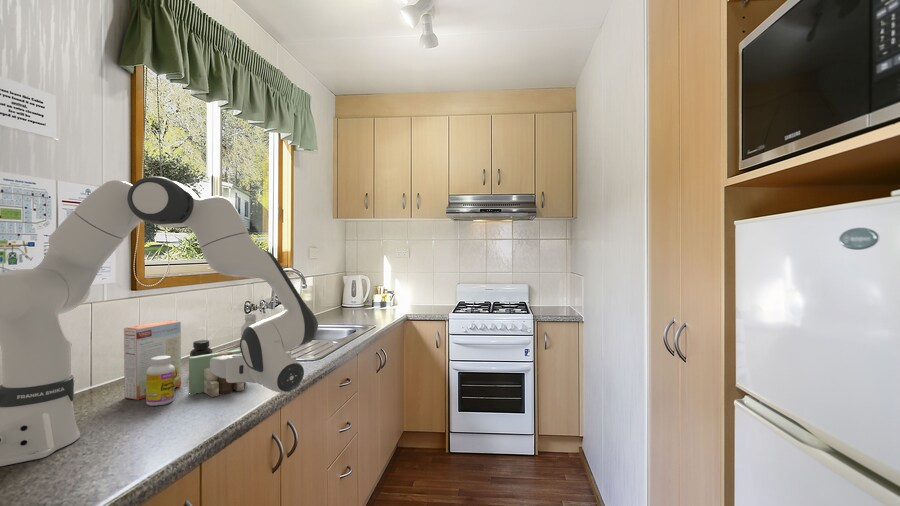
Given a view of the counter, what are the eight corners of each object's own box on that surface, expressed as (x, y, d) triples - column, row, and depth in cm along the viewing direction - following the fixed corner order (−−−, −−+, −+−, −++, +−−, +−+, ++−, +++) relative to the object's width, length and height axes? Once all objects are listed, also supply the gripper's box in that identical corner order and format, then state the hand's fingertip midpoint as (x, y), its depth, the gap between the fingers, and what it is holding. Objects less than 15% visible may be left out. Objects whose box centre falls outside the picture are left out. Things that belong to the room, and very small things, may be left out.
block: (212, 396, 126) (212, 373, 126) (203, 391, 131) (204, 368, 131) (243, 389, 133) (243, 367, 133) (234, 385, 138) (234, 363, 138)
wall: (190, 394, 129) (191, 358, 129) (188, 393, 130) (189, 357, 130) (245, 383, 140) (245, 349, 140) (243, 382, 142) (243, 348, 142)
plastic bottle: (242, 367, 160) (243, 313, 160) (262, 366, 161) (262, 313, 161) (237, 372, 153) (237, 316, 153) (257, 371, 155) (258, 316, 155)
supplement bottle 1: (160, 407, 118) (160, 360, 118) (140, 405, 119) (140, 359, 120) (180, 399, 125) (180, 355, 125) (160, 397, 126) (161, 354, 126)
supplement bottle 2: (187, 375, 149) (187, 341, 149) (209, 372, 154) (209, 338, 154) (192, 379, 144) (192, 344, 144) (214, 376, 149) (214, 341, 149)
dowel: (220, 395, 128) (220, 355, 129) (215, 392, 131) (215, 353, 131) (234, 392, 131) (234, 353, 131) (229, 389, 134) (229, 351, 134)
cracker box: (168, 384, 139) (168, 320, 139) (181, 386, 137) (182, 321, 137) (122, 398, 125) (123, 326, 125) (136, 400, 123) (137, 328, 123)
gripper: (299, 347, 121) (277, 340, 130) (222, 358, 106) (202, 349, 115) (298, 370, 121) (276, 361, 130) (221, 384, 106) (201, 372, 115)
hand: (241, 355), depth 122 cm, fingers open, 8 cm apart
